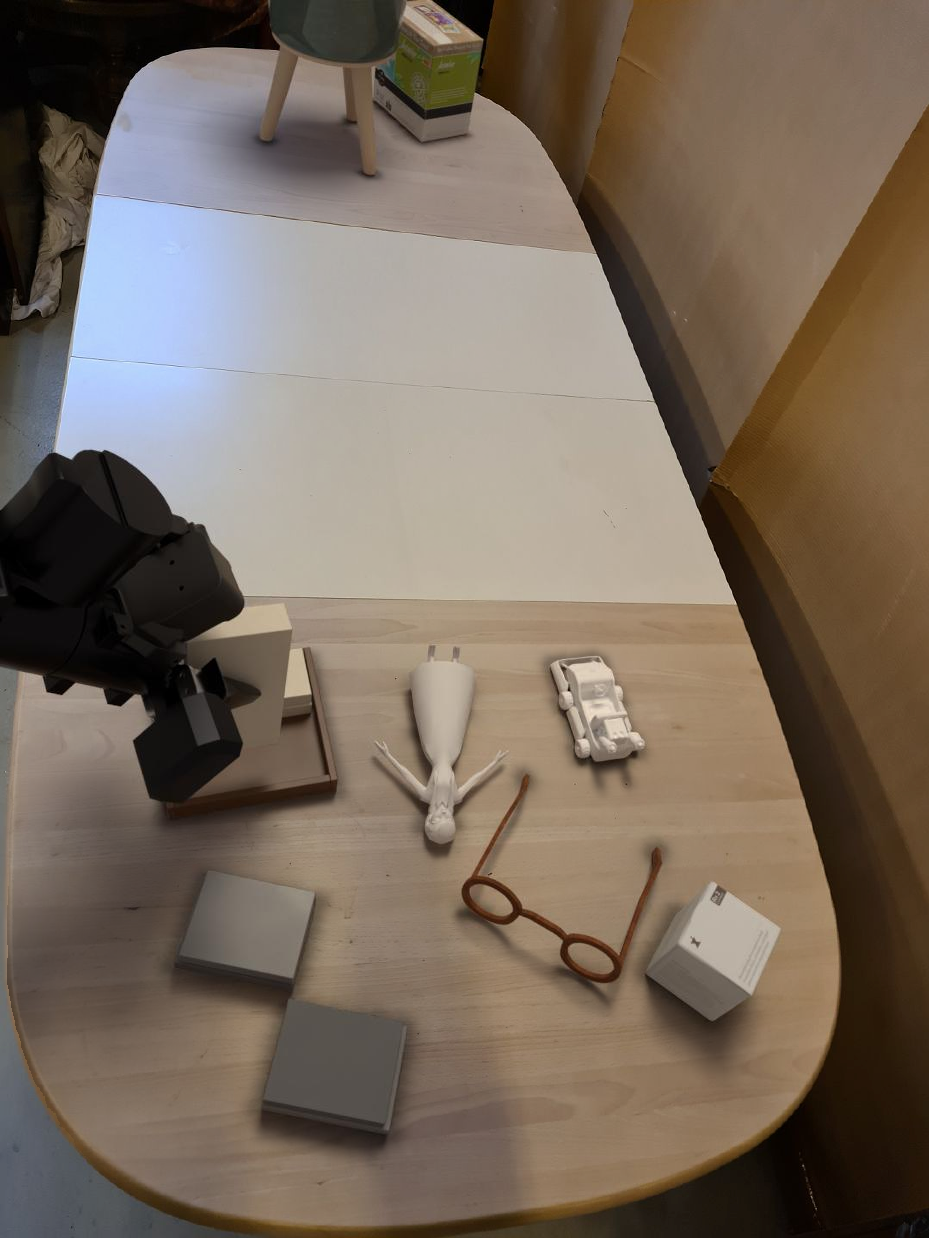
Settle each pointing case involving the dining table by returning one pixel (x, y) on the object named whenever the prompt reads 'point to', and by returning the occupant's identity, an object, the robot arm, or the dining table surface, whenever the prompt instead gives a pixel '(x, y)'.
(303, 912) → the grey book stack left
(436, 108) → the tea box
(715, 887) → the white cardboard box
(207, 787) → the book tray
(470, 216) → the dining table surface
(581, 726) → the toy car
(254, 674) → the white book
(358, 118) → the planter
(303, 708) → the white book stack
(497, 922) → the glasses
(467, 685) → the woman figurine
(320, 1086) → the dark grey book stack
